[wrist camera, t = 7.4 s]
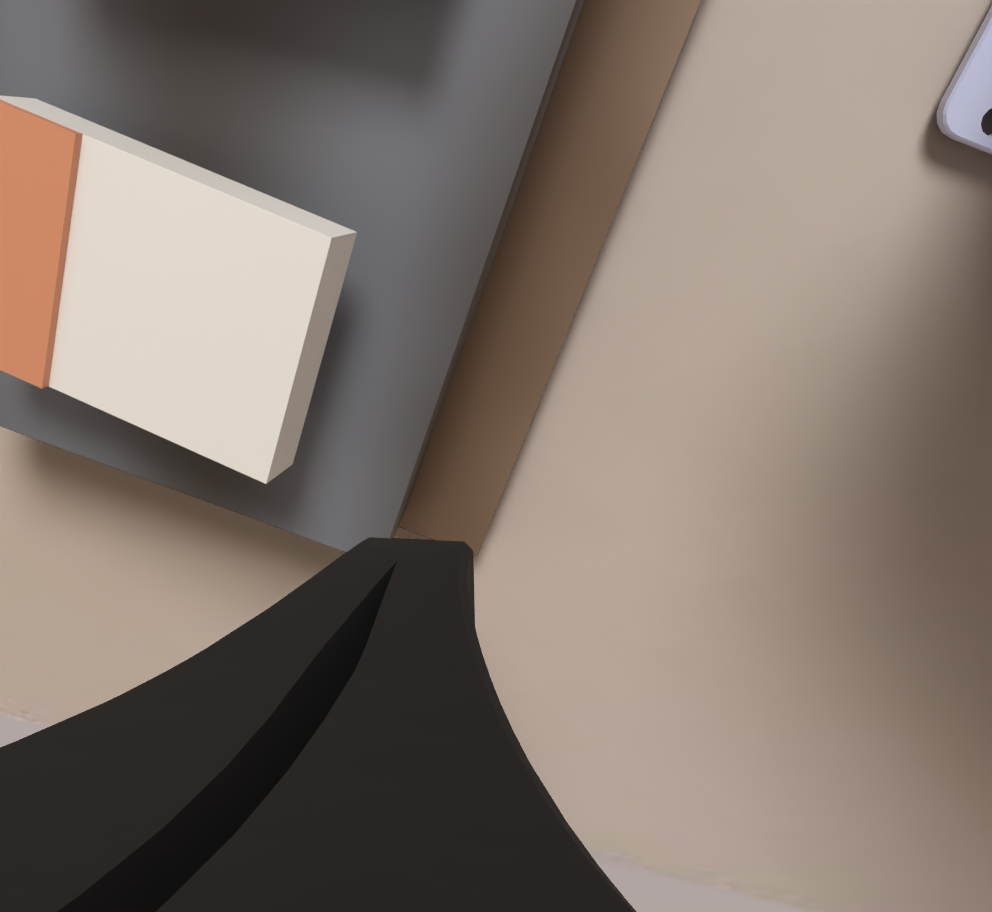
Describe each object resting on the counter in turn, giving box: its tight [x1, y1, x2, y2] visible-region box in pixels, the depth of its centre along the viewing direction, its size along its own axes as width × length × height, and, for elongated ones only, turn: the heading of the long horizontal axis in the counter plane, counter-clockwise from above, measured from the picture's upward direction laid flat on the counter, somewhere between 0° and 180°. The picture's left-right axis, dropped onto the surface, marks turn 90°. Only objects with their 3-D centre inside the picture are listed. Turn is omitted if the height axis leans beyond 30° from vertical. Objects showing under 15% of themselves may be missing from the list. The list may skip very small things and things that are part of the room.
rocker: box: [0, 95, 357, 484], centre depth 14 cm, size 6×4×2 cm
